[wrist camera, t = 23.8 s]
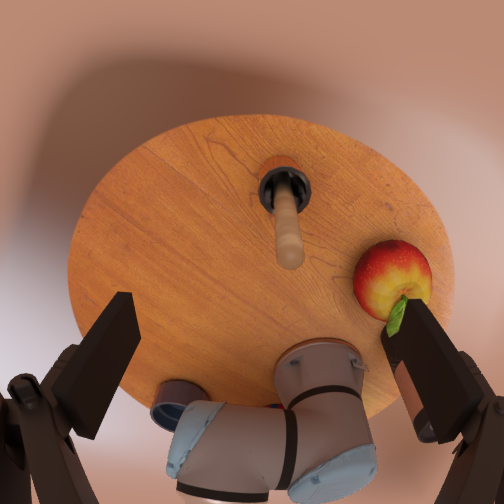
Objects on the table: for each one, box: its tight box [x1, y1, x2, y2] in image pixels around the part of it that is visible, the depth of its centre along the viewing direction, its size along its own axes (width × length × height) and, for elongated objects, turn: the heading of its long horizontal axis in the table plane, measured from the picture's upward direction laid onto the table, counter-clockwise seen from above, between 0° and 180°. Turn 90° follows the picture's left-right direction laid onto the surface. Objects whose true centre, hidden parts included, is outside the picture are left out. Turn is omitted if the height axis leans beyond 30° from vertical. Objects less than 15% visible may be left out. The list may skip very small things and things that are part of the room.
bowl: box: [150, 380, 209, 433], centre depth 52 cm, size 10×10×6 cm
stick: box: [273, 171, 305, 270], centre depth 30 cm, size 2×2×19 cm
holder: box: [258, 155, 312, 215], centre depth 34 cm, size 5×5×9 cm
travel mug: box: [381, 325, 437, 443], centre depth 38 cm, size 8×8×20 cm
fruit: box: [353, 240, 432, 338], centre depth 38 cm, size 11×11×10 cm
